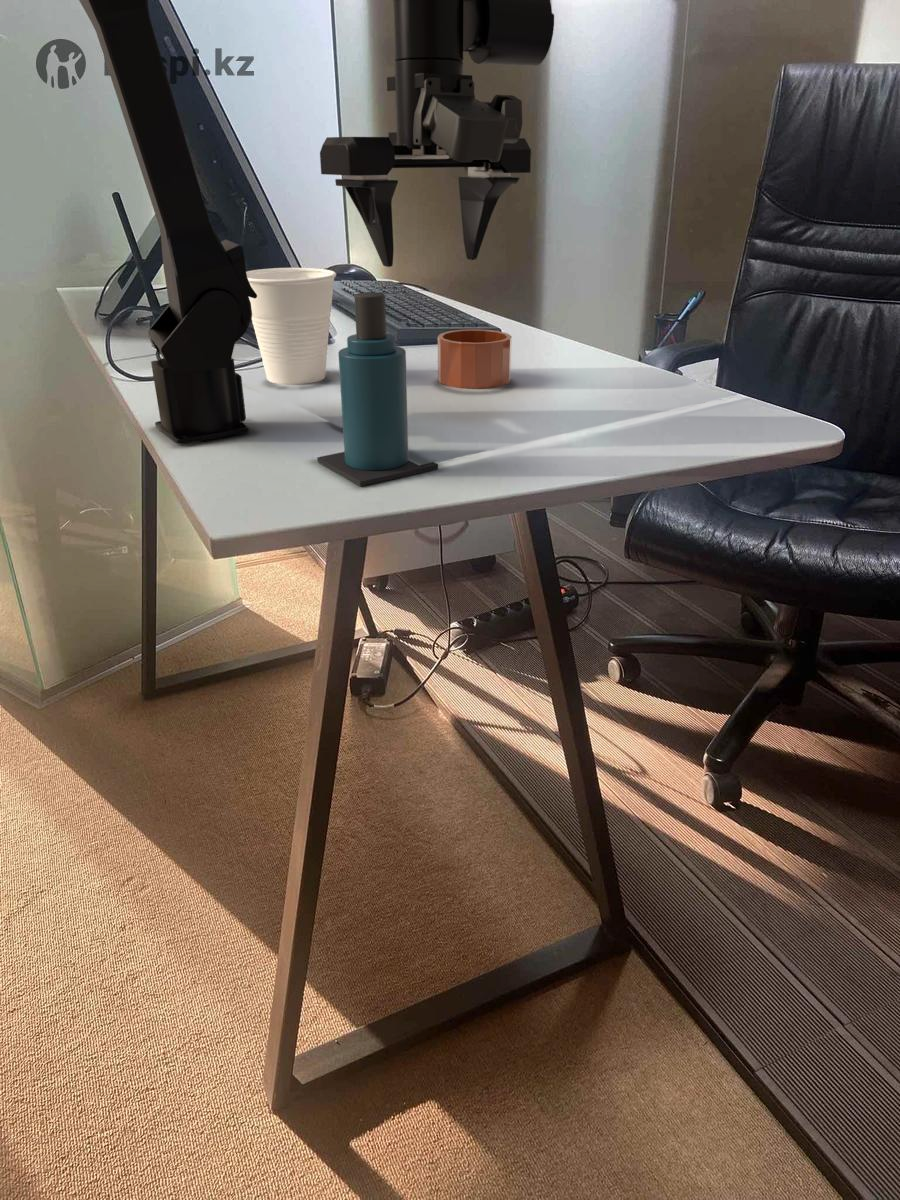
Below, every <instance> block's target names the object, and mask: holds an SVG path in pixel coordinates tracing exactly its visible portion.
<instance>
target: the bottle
mask: <svg viewBox="0 0 900 1200" xmlns="http://www.w3.org/2000/svg"><path fill="white" fill-rule="evenodd" d="M353 297H354V314H355V315H354V317H355V332H356V333H355V334H351V335H349V336H348V337H347V338H346V341H347V342H346V343H347V347H344V348H342V349H339V350H338V352H337V353H338V354H337V355H338V367H339V368H338V369H339V384H340V385H339V386H340V399H341V400H340V401H341V404H340V405H341V418H342V420H341V421H342V435H343V450H344V451H343V452H344V453H345V462H346V464H347V465H348V466H350V467H352V468H356V469H360V470H369V471H379V470H389V469H394V468H397V467H400V466H403V465H404V464H406V463H407V462H408V460H409V430H408V429H409V428H408V425H409V424H408V393H407V392H408V390H407V389H408V388H407V385H408V384H407V351H406V349H404V347H400V346H397V338H396V337H397V336H395V335H393V334H391V333H387V313H386V294H385V293H382V292H376V291H375V292H374V291H373V292H372V291H371V292H368V291H367V292H359V293H358V292H357V293H355V294H354V295H353Z"/></svg>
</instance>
